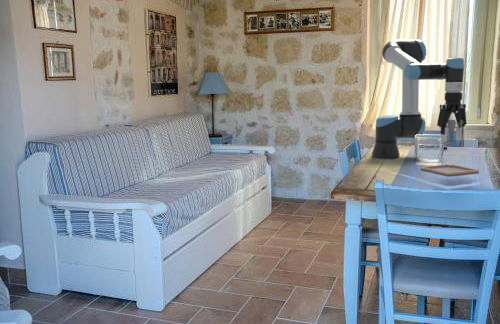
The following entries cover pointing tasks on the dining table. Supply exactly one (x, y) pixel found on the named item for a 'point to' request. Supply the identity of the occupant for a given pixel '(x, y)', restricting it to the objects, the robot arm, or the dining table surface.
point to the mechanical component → (451, 127)
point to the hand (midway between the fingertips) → (451, 140)
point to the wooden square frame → (449, 169)
